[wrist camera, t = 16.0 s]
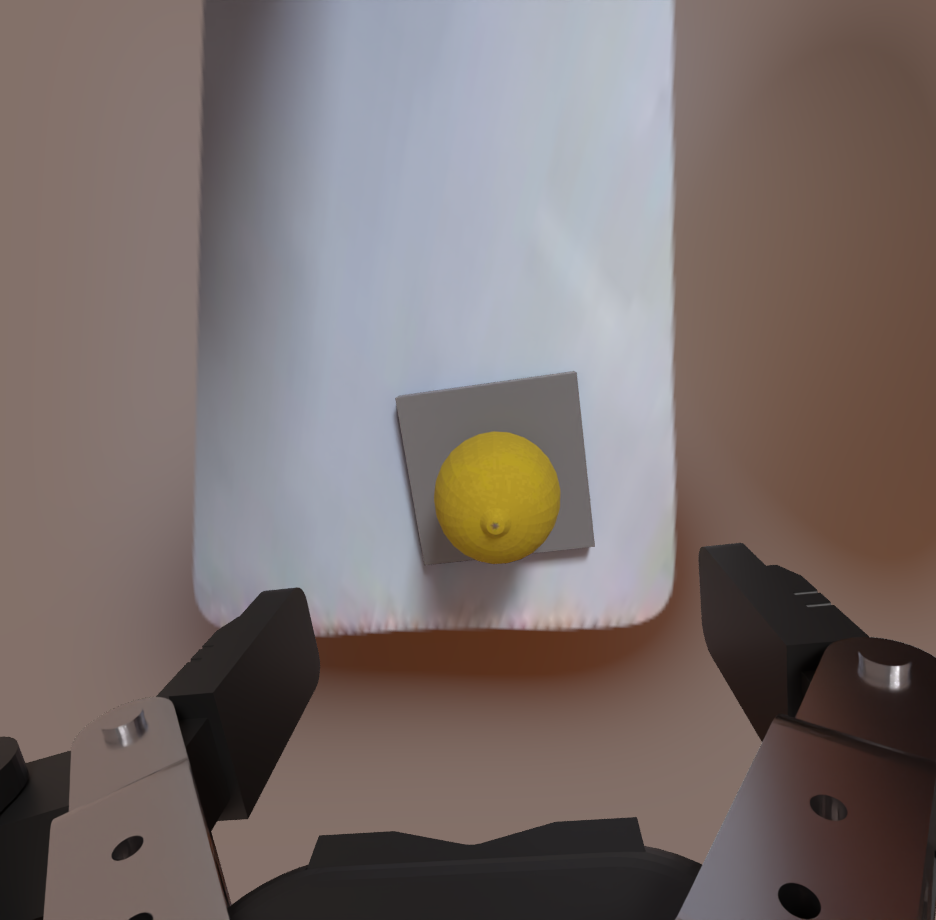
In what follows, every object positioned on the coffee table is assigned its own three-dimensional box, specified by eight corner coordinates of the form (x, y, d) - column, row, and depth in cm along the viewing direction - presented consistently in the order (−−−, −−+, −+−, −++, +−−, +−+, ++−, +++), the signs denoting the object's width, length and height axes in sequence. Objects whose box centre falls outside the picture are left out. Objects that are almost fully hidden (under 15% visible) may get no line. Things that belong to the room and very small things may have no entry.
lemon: (554, 418, 29) (572, 455, 21) (551, 524, 30) (566, 596, 22) (442, 417, 29) (420, 454, 21) (444, 522, 31) (423, 592, 23)
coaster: (399, 395, 30) (395, 398, 29) (574, 371, 29) (576, 372, 28) (427, 557, 32) (424, 565, 31) (592, 539, 31) (594, 546, 30)
